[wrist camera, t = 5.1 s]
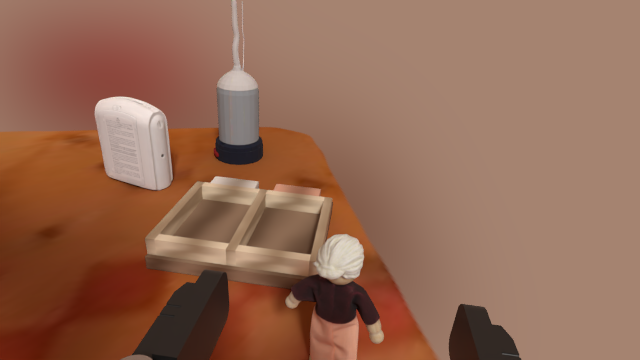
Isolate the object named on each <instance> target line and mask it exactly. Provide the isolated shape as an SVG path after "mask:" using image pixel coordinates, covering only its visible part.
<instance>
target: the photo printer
mask: <svg viewBox="0 0 640 360" xmlns="http://www.w3.org/2000/svg"><path fill="white" fill-rule="evenodd" d="M95 119H96V123H97V129H98V134H99V139H100V144H101V149H102V154H103V160H104V165H105V170H106V174H107V175H108V176H109V177H111V178H114V179H117V180H120V181H123V182H126V183H130V184H133V185H137V186H140V187H143V188H147V189H151V190H162V189H165V188H167V187H168V186H170V184H171V181H172V180H173V174H172V164H171V155H170V145H169V135H168V128H167V120H166V117H165V115H164V114H163V112H161V111H160V110H159V109H157V108H156V107H154V106H152V105H150V104H148V103H146V102H143V101H140V100H137V99H133V98H129V97H112V98H107V99H103V100H100V101H99V102H98V103H97V105H96V108H95Z"/></svg>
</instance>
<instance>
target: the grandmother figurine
mask: <svg viewBox="0 0 640 360" xmlns="http://www.w3.org/2000/svg"><path fill="white" fill-rule="evenodd" d="M363 251H364V250H363V247H362V245H361V244H360V243H359V240H358V239H356V238H354V237H351V236H349V235H347V234H344V235H343V234H341V235H334V236H332V237H331V238H329V239H328V240H327V241H326V242H325V243H324V244H323V245H322V246H321V247H320V249H319V250H318V254H317V256H316V262H314V263H313V264H314V265H315V266H316V271H317V273H318V274H316V275H311V276H309V277H306V278H304V279H302V280H301V281H299V282H298V283H296V284H295V285H293V286H292V288H291V293H290V295H289V296H288V297H287V298H286V300H285V303H286V306H287V307H289V308H291V309H293V308H296V307H297V305H298V303H299V302H301V301H312V302H317V303H316V305H315V306H314V309H313V314H312V320H311V328H310V357H309V360H357V343H358V320H357V314H356V309H357V310H358V312H359V314H360V316H361V318H362V320H363V321H364V323H365V324H366V327H367V330H368V332H369V337H370V340H371V341H372V342H373V343H376V344H378V343H381V342H382V341H383V338H384V334H383V332H382V331H381V324H380V320H379V314H378V312H377V310H376V308H375V306H374V304H373V303H372V301H371V299H370V297H369V296H368V294H367V292H366V291H365V290H364V288H362V287H361V286H360V285H358V284H356V283H355V282H353V280H354V279H355V278H356V277H358V276H359V274H360V269H361V268H362V266H363V259H364V255H363Z"/></svg>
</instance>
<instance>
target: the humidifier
mask: <svg viewBox="0 0 640 360" xmlns="http://www.w3.org/2000/svg"><path fill="white" fill-rule="evenodd" d="M231 2H232V28H233V33H234V40H233V47H232V53H233V61H234V67H233V69H232V70H231V71H230V72H228V73H226V74H225V75H224V76H222V77H221V79H220V80H219V81H218V84H217V102H218V121H219V136H218V137H217V139H216V143H215V144H216V148H214V155H215V156H216V158H217V159H218V160H220V161H222V162H224V163H228V164H236V165H241V164H250V163H254V162H256V161H259V160H260V159H261V158H262V156H263V143H262V139H261V137H259V91H258V85H257V83H256V81H255V80H254V79H253V78H252V76H250V75H249V74H248V73H246V72H244V71H243V69H241V66H240V62H239V56H238V45H239V31H238V24H237V4H236V0H231ZM242 4H243V3H242ZM242 10H243V8H242ZM242 12H243V11H242ZM242 17H243V13H242ZM242 31H243V20H242ZM243 38H244V35H243ZM243 46H244V43H243ZM243 67H244V47H243Z"/></svg>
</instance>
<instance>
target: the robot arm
mask: <svg viewBox="0 0 640 360" xmlns="http://www.w3.org/2000/svg"><path fill="white" fill-rule="evenodd" d="M228 312H229V293H228V278H227V273H226V272H221V271H214V270H204V271H203V272H202V273H201V275H200V276H199V278H198V280H197V281H196V283H189V282H187V283H186V284H184V285H183V286H182V287H180V288H179V289H178V290H176V291H175V292H174V293H173V295H172V296H171V298H170V299H169V301H168V302H167V305H166V306H165V307H164V308H163V310H162V311H161V313H160V316H158V317H157V319H156V320H155V322H154V323H153V325H152V326H151V328H150V329H149V331H148V332H147V334H146V335H145V337H144V338H143V340H142V341H141V343H140V344H139V346H138V347H137V349H136V350H135V352H134V353H133V354H132V355H131V356H128V357H125V358H123V359H121V360H209V358H210V356H211V354H212V352H213V349H214V347H215V345H216V343H217V341H218V338H219V336H220V334H221V332H222V330H223V327H224V325H225V323H226V320H227V317H228ZM449 355H450V360H521V358H519V353H518V351H517V348H516V346H515V343H514V341H513V339H512V338H511V337H510V336H509V334H508V333H507V332H506V331H505V330H504V329H503V327H502V326H499V325H492V324H491V321H490V319H489V316H488V313H487V310H486V309H485V308H484V307H480V306H472V305H465V304H460V306H459V307H458V310H457V314H456V317H455V321H454V324H453V327H452V331H451V334H450V339H449Z"/></svg>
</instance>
